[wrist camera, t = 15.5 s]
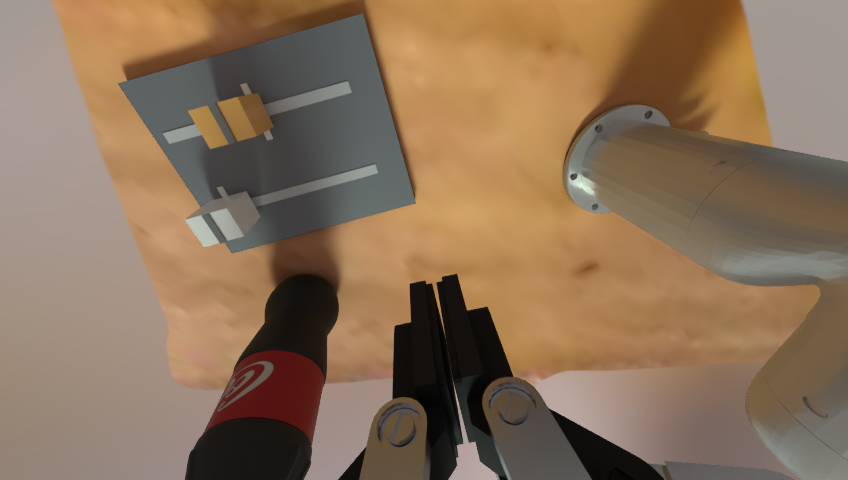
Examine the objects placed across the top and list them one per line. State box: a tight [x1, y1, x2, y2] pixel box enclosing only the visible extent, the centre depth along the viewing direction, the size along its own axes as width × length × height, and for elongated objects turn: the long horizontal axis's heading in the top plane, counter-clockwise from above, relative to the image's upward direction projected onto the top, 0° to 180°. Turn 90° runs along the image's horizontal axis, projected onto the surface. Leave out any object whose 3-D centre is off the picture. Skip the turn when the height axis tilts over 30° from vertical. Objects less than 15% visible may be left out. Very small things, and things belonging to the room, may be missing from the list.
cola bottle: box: [185, 274, 339, 480], centre depth 28 cm, size 8×8×30 cm
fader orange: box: [188, 93, 274, 149], centre depth 26 cm, size 4×3×5 cm
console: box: [118, 13, 416, 253], centre depth 31 cm, size 22×18×1 cm
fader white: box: [185, 191, 261, 247], centre depth 30 cm, size 4×3×5 cm
